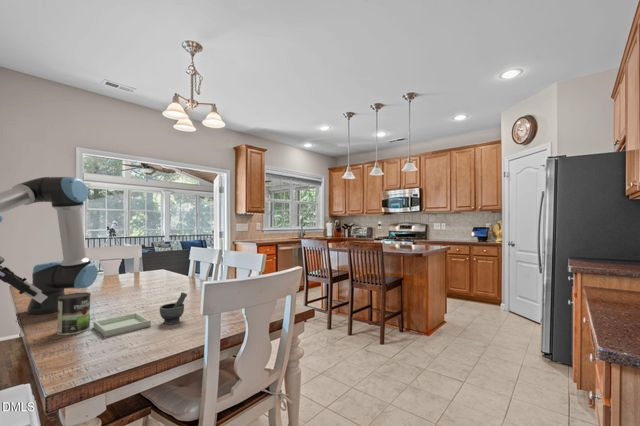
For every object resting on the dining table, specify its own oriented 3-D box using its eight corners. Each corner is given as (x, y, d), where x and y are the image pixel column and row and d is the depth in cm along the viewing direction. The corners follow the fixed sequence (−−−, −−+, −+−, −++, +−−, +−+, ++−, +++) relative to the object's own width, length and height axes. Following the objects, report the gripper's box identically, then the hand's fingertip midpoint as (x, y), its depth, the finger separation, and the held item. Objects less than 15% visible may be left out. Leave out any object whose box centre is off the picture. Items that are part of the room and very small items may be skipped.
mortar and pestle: (163, 327, 126) (163, 298, 126) (156, 321, 133) (156, 294, 133) (190, 321, 134) (191, 293, 134) (183, 316, 141) (183, 289, 141)
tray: (93, 327, 126) (93, 321, 126) (136, 318, 138) (136, 312, 138) (104, 337, 115) (105, 331, 115) (150, 326, 127) (150, 320, 127)
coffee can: (96, 327, 127) (96, 292, 127) (71, 336, 117) (72, 299, 117) (76, 325, 129) (76, 291, 129) (49, 334, 119) (50, 297, 119)
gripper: (-30, 265, 110) (27, 299, 121) (-30, 274, 94) (36, 312, 105) (-8, 249, 115) (45, 283, 126) (-4, 255, 98) (56, 293, 109)
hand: (41, 296), depth 115 cm, fingers open, 13 cm apart
